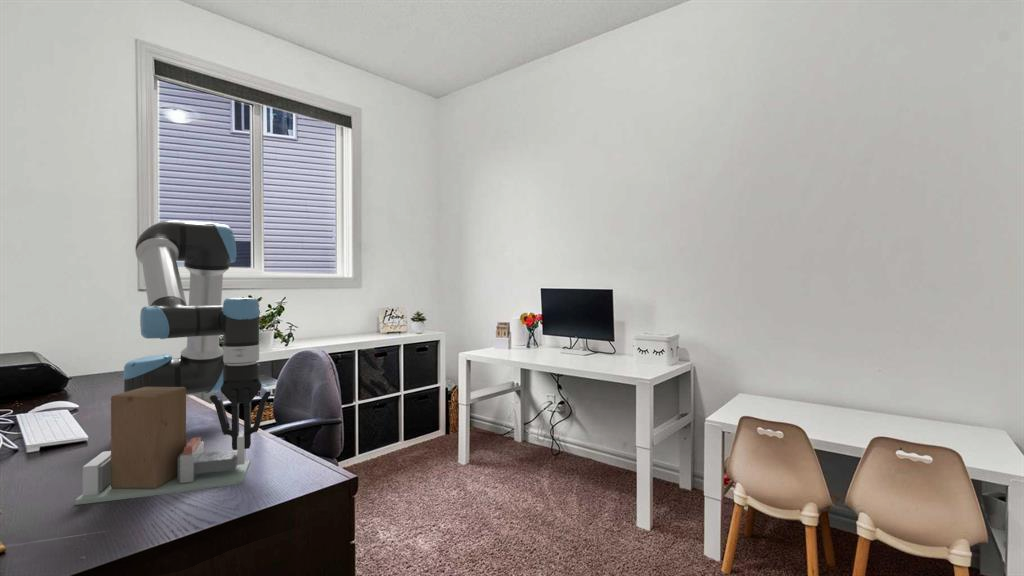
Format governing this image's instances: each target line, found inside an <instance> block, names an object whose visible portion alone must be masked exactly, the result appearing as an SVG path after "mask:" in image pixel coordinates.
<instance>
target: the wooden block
mask: <svg viewBox="0 0 1024 576" xmlns="http://www.w3.org/2000/svg"><path fill="white" fill-rule="evenodd" d="M186 445H187V395H186V388H185V387H142V388H139V389H135V390H131V391H128V392H124V391H123V392H120V393H118V394H113V395H112V396H111V397H110V451H111V488H140V489H156V488H158V487H160V486H161V485H163V484H165V483H167V482H169V481H170V480H172V479H174V478H176V477H178V457H179V456H180V454H181V453H182V452H183V451H184V447H185V446H186Z"/></svg>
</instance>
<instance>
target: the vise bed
mask: <svg viewBox="0 0 1024 576" xmlns="http://www.w3.org/2000/svg"><path fill="white" fill-rule="evenodd" d="M250 464H251V460H250V459H248V460H247V459H246V461H245V463H244V464H242V465H237V467H236V469H235V470H225V471H216V472H207V473H199V474H198V476H197V477H196V479H195V480H194V482H186V483H180V480H178V477H176V478H174V479H172V480H170V481H169V482H167V483H165V484H163V485H161V486H160V487H158V488H156V489H140V488H111V450H106V451H102V452H100V453H99V454H98V455H97V456H95V457H94V458H93V459H91V460H90V461H89V462H87V463H86V464H84V465H83V466H82V493H81V495H80V496H78V497H77V498H76V499H75V501H74V502H75V503H74V504H75V506H76V505H77V506H78V505H84V504H92V503H93V504H95V503H103V502H110V501H119V500H126V499H127V500H128V499H134V498H136V499H137V498H144V497H145V498H146V497H151V496H152V497H153V496H159V495H167V494H175V493H181V492H189V491H196V490H205V489H209V488H217V487H218V488H219V487H223V486H226V487H227V486H233V485H238V484H243V481H244V479H245V476H246V474H247V471H248V469H249V466H250Z"/></svg>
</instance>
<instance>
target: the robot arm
mask: <svg viewBox="0 0 1024 576" xmlns="http://www.w3.org/2000/svg"><path fill="white" fill-rule="evenodd" d="M236 244H237V243H236V239H235V235H234V232H233V230H232V228H231V227H230V226H229V225H227V224H221V223H217V222H204V221H186V220H174V219H172V220H164V221H160V222H157V223H155V224H153V225H151V226H149V227H148V228H146V229H145V230H144V231H143V232H142V233H141V234H140V235H139V237H138V238H137V241H136V244H135V255H136V258H137V261H138V262H139V263H140V264H141V265H142V271H143V278H144V283H145V290H146V296H147V304H148V306H144V307H142V308H141V310H140V317H139V319H140V320H139V323H140V334H141V336H142V338H144V339H160V340H166V339H175V338H176V339H177V338H178V339H179V338H187V339H186V340H187V341H186V347H185V348H183V349H182V350H181V351H180V357H177V358H176V357H175V358H173V356H172V355H171V354H170V353H164V354H153V355H149V356H142V357H139V358H134V359H131V360H129V361H128V362H126V363H125V365H124V367H123V376H122V380H123V393H124V392H128V391H131V390H135V389H139V388H142V387H185V388H186V396H190V395H200V394H201V395H202V394H209V393H212V394H211V395H210V396H209V400H210V401H211V402H212V404H213V405H214V407H215V410H216V414H217V417H218V421H219V424H220V427H221V428H220V429H221V431H222V434H223V435H224V436H230V437H231V450H237V465H242V464H244V463H245V461H246V460H247V458H246V457H247V453H246V452H247V451H246V450H247V449H248V450H249V449H250V448H251V445H252V439H251V438H252V434H254V433H257V432H258V431H259V429H260V425H261V422H262V419H263V415H264V411H265V407H266V403H267V400H268V399H269V398H270V397H271V394H272V389H267V388H265V387H263V385H262V383H261V381H260V363H258V361H260V314H261V311H260V303H259V302H260V301H259V300H258V299H257V298H255V297H228V298H225V299H224V300H223V304H222V298H223V297H222V296H223V280H224V278H223V277H224V273H226V272H227V271H228V270H229V268H230V263H231V264H232V263H235V262H236V260H237V245H236ZM177 261H178V262H184V268H185V269H186V270H187V271H188V272H189V290H188V291H189V293H188V305H187V301H186V297H185V293H184V288H183V283H182V279H181V274H180V272H179V271H180V270H179V267H178V262H177ZM220 336H222V337H223V340H222V341H223V343H222V344H223V345H222V346H223V348H221V346H220ZM258 393H259V398H260V400H259V404H258V408H257V411H256V415H255V419H254V422H253V426H252V401H253V400H254V398H255V397H256V396H257V394H258ZM223 395H224V396H223ZM224 397H225V398H226V399H227V400H228V401H229V402H230V407H231V426H230V424H229V423H230V422H229V418H228V416H227V412H226V408H225V404H224V402H223V399H224ZM241 403H243V433H240V404H241Z"/></svg>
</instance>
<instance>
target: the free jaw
mask: <svg viewBox="0 0 1024 576" xmlns="http://www.w3.org/2000/svg"><path fill="white" fill-rule="evenodd" d="M201 438H202V437H201V436H195V437H192V438H191V439H190V440H189V441H188V443H186V446H185V447H184V451H183V452H182V453H181V454H180V456H179V457H178V480H180V483H186V482H194V480H195V479H196V477H197V476H198V474H199V473H207V472H216V471H225V470H235V469H236V467H237V450H233V449H228V450H217V451H208V452H204V450H205V449H204V447H205V444H204V443H205V442H204V441H203V440H202V439H201ZM201 440H202V441H201Z"/></svg>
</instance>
